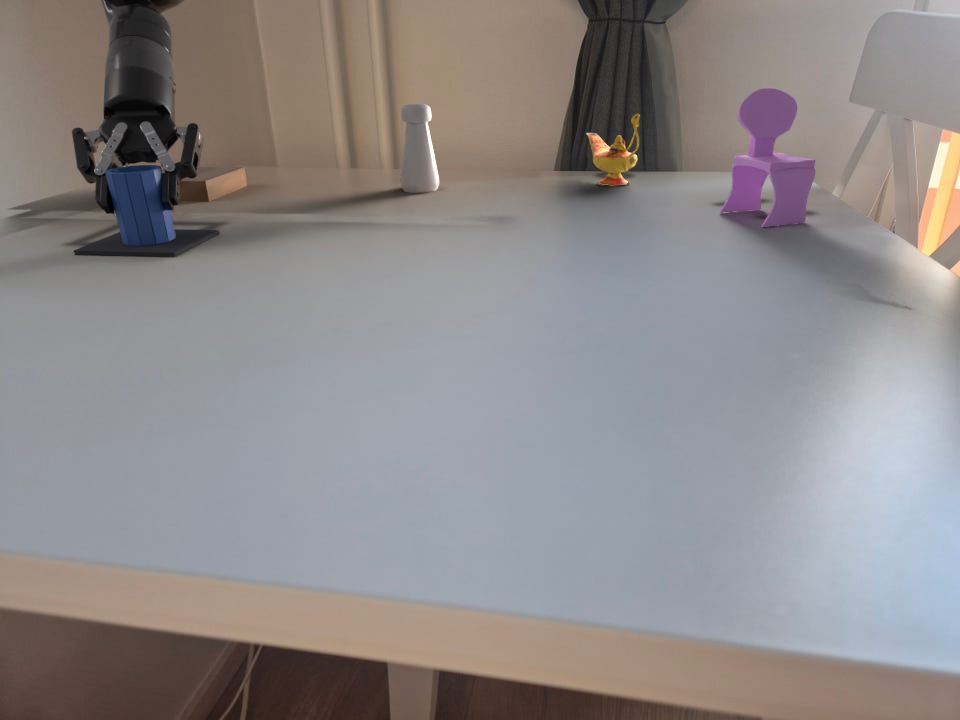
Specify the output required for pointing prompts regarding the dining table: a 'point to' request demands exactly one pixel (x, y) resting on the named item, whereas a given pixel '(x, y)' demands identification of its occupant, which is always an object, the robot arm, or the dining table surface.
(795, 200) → the toy chair
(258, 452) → the dining table surface
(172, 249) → the mat
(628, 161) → the magic lamp
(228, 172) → the platform
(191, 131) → the robot arm
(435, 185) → the salt shaker
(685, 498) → the dining table surface
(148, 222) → the blue faceted cup
